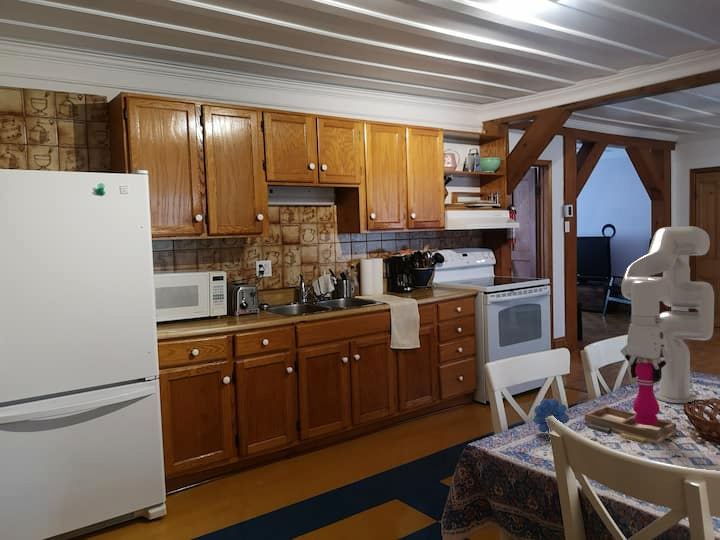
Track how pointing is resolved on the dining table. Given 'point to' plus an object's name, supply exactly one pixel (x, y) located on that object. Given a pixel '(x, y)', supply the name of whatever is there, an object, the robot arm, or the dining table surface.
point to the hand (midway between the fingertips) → (645, 378)
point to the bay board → (628, 425)
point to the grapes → (549, 413)
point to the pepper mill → (645, 395)
